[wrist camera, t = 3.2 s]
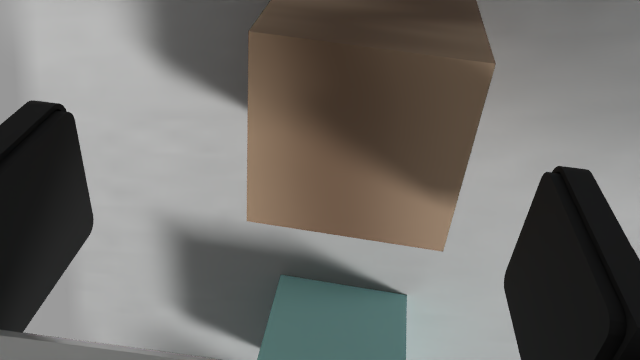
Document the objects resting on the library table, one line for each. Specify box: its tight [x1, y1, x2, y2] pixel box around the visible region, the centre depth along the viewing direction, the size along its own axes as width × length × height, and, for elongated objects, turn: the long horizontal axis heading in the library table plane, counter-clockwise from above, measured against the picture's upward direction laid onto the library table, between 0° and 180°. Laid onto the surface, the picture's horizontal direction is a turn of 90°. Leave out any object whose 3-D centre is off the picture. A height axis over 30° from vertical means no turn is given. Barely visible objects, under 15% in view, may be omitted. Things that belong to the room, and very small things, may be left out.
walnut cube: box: [247, 0, 496, 251], centre depth 15 cm, size 5×5×5 cm
